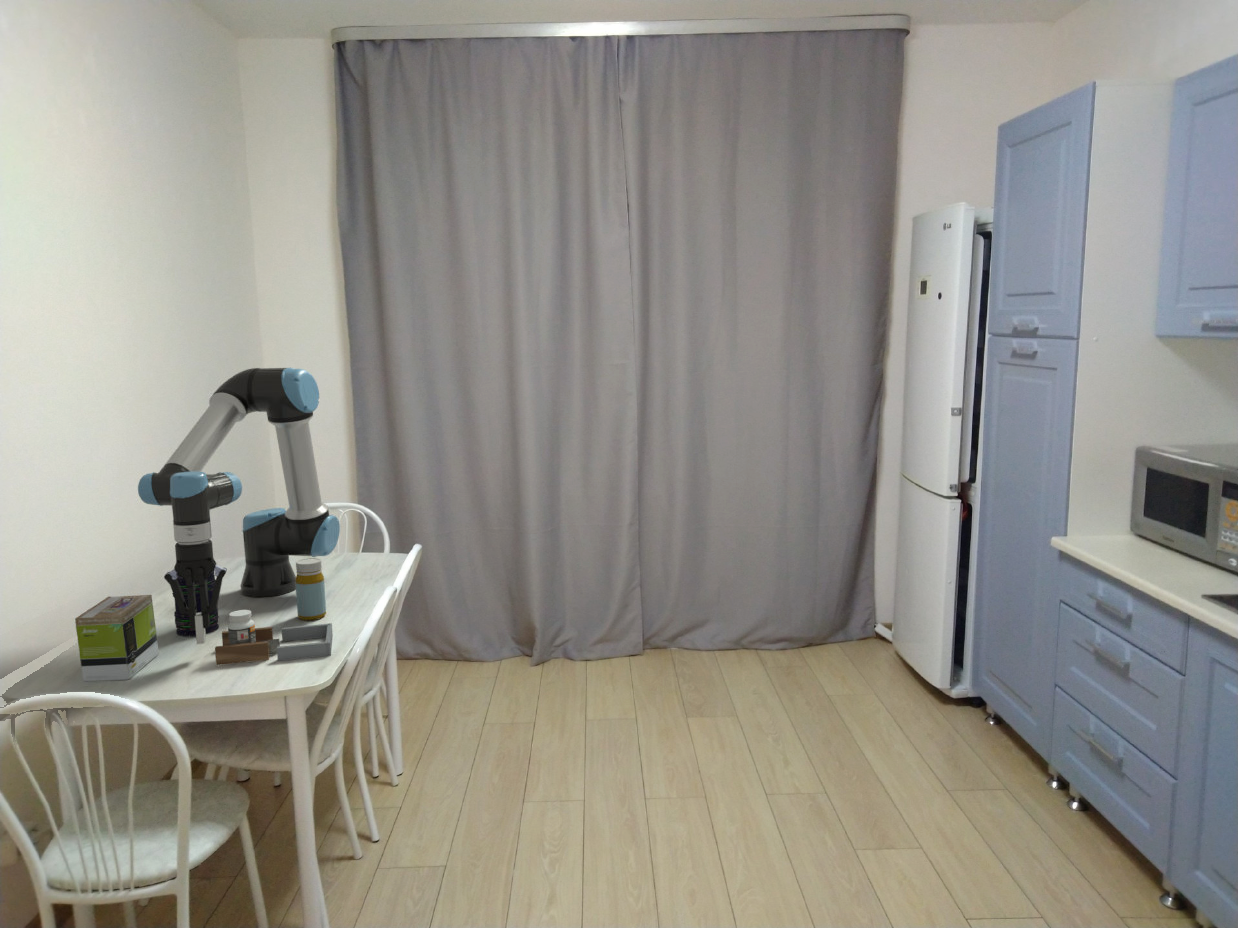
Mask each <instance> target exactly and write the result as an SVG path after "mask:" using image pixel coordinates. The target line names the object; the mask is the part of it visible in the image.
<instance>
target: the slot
mask: <svg viewBox="0 0 1238 928" xmlns="http://www.w3.org/2000/svg"><path fill="white" fill-rule="evenodd" d="M273 631H274V630H273V626H267V627H255V635H256V642H255V643H245V644H235V645H229V635H228V630H225V631H222V632H221V642H222V645H219V646H218V645H217V646H215V647H214V653H215V654H214V655H215V665H216V666H221V665H222V666H223V665H224V666H225V665H231V664H242V663H250V662H251V663H252V662H260V661H269V660H270V655H269V647H268V641H265V642H261V640H271V639H274V633H273Z"/></svg>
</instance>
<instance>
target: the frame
mask: <svg viewBox="0 0 1238 928" xmlns="http://www.w3.org/2000/svg"><path fill="white" fill-rule="evenodd" d="M333 636H334V635H333V623H332V622H329V623H320V624H311V625H300V626H299V625H298V626H290V627H289V626H287V627H282V628H281V638H282V642H287V641H288V642H290V641H298V640H299V641H300V640H308V639H319V638H325V641H320V642H319V641H318V642H310V643H309V642H308V643H299V644H290V645H280V646H279V647H277V654H276V657H277V661H278V662H279V661H280V662H281V661H288V660H289V661H290V660H298V659H299V660H300V659H306V658H307V659H308V658H316V657H317V658H318V657H325V656H326V657H327V656H332V647H333Z"/></svg>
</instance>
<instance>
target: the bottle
mask: <svg viewBox="0 0 1238 928" xmlns="http://www.w3.org/2000/svg"><path fill="white" fill-rule="evenodd" d="M295 570H296V575H295V576H296V579H295V581H296V582H295V583H296V589H295V593H296V594H295V596H296V610H297V612H296V613H297V617H298V618H299V619H300V620H301V621H317V620H320V619H322V618H324V617H325V616H326V614H327V603H326V590H325V577H324V575H323V574H324V573H323V572H322V570H323V568H322V559H321V558H318V557H317V558H316V557H307V558H301V559H299V560H296V561H295Z"/></svg>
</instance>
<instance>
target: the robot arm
mask: <svg viewBox="0 0 1238 928" xmlns="http://www.w3.org/2000/svg"><path fill="white" fill-rule="evenodd" d="M319 399H320V390H319V386H318V383H317V381H316V379H315V378H314V376H313V375H312V373H310V372H309V371H308V370H306V369H304V368H294V367H271V368H270V367H269V368H260V367H254V368H253V367H252V368H247V369H244V370H242V371H240V372H238V373H236V374H234V375H233V376H231V377H230V378H228V379H227V380H226V381H224V382H223V383H222V384H221V385H220V386H219V387H218V388H217V389H216V390H215V391H214V392H213V393H212V395H211V396H210V398H209V399H208V400H209V402H208V407H207V408H206V410H205V411H204V412H203V414H201V416H200V418H199V419H198V421H197V422H196V423H195V424H194V426H193V427H192V428H191V429H190V431H189V432H188V434H187V435H186V436H185V437H184V439H183V440H182V441H181V443H180V444H179V445H178V447H177V448H176V449H175V451H174V452H173V453H172V454H171V456H170V457H169V458H168V460H167V461H166V463H164V464H163V466H162V467H161V469H160V470H159V471H158V472H150V473H149V472H148V473H146V474H144V475H142V476H141V478H140V479H139V482H138V485H137V493H138V496H139V498H140V500H141V501H142V502H143V503H144V504H146V505H147V504H148V505H152V506H159V507H163V506H171V510H172V518H173V520H172V523H173V524H172V525H173V538H174V541H175V542H176V544H175V545H174V547H175V549H174V550H175V551H174V552H175V565H174V566H173V567H174V568H173V569H172V570H170V571H167V572H166V573H165V574H164V576H163V578H164V580H165V581H166V582H167V583H168V585H169V587H170V589H171V591H172V593H173V594H174V597H175V599H174V601H175V600H176V603H177V605H178V608H179V611H180V613H181V614H187V615H189V617H190V627H191V629H196V636H195V638H196V645H200V644H205V643H206V641H207V634H206V633H205V628H208V627H209V625H210V620H209V613H210V612H214V611H215V610H216V608H217V607H218V605H219V601H220V595H221V589H222V584H223V578H224V577H225V575H226V574H227V571H228V569H227V568H226V567H221V566H219V565H218V564H217V562H216V561H215V559H214V552H213V551H214V550H213V549H214V548H213V541H212V540H211V538H212V536H213V535H212V523H211V513H210V511H211V510H213V509H217V508H220V507H223V506H228V505H230V504H231V503H234V502H235V501H237V500H239V498H240V496H242V492H243V485H242V481H241V479H240V478H239V477H238V476H237V475H236V474H234V473H233V472H229V471H224V472H220V471H219V472H218V473H213V474H208V473H207V474H206V472H204V471H203V469H204V467H206V465H207V463H208V462H209V461H210V459H211V458H212V456H214V454H215V452H216V451H217V449H219V447H220V445H221V444H222V443H223V441H224V440H225V439H226V437H227V436H228V434H229V433H230V431H231V430H232V429H233V427H234V426H235V425H236V423H239V422H241V421H242V420H244V418H245V417H246V416H247V415H248V414H250V413H255V412H259V413H260V412H261V413H266V416H267V421H268V422H269V424H271V425H273V426H274V427H275V428H274V429H275V433H276V438H277V444H278V449H279V455H280V456H279V457H280V461H281V467H282V474H283V478H284V483H285V489H286V496H287V502H288V506H289V507H288V508H287V509H286V508H285V507H276V508H268V509H267V508H266V509H262V510H258V511H254V512H251V513H248V514H245V516H244V517H243V518H242V530H241V532H242V534H243V535H242V536H243V548H244V559H245V560H244V561H245V567H244V572H243V575H242V579H241V583H240V593H241V594H242V595H243V596H245V597H251V598H253V597H255V598H264V597H266V598H267V597H274V596H280V595H284V594H288V593H290V592H292V591H296V583H295V582H296V581H295V579H296V576H297V575H296V574H295V571H294V569H293V567H292V564H291V562H290V556H294V557H295V556H297V557H311V558H316V557H327V556H329V555H330V554H332V552H334V550H335V548H336V547H337V544H338V541H339V538H340V531H341V530H340V529H341V528H340V527H341V525H340V521H339V518H338V517H337V516H336V515H333V514H330V510H329V506H328V505H327V504H326V503H324V502H322V498H321V497H322V496H321V490H320V484H319V479H318V471H317V466H316V459H315V454H314V447H313V442H312V436H311V435H312V434H311V430H310V424H309V423H310V421H311V419H312V418H313V417H314V412H315V411H316V410H317V408H318V406H319V403H320V401H319ZM213 570H214V575H215V585H214V591H213V596H212V601H211V605H210V606H209V602H208V590H207V579H208V577H209V576H210V574H211V573H212V571H213ZM177 573H178V574H179V575H180V576H181V577H182V578H183V579H184V580H185V581H186V587H187V595H188V607H187V604H186V602H185V599H184V596H183V593H182V591H181V588H180V585H179V582H178V580H177V577H178V576H177ZM195 581H197V582H199V588H200V600H201V612H202V613H196V611H197V608H196V595H195ZM173 594H172V595H173ZM174 597H173V598H174Z"/></svg>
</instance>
